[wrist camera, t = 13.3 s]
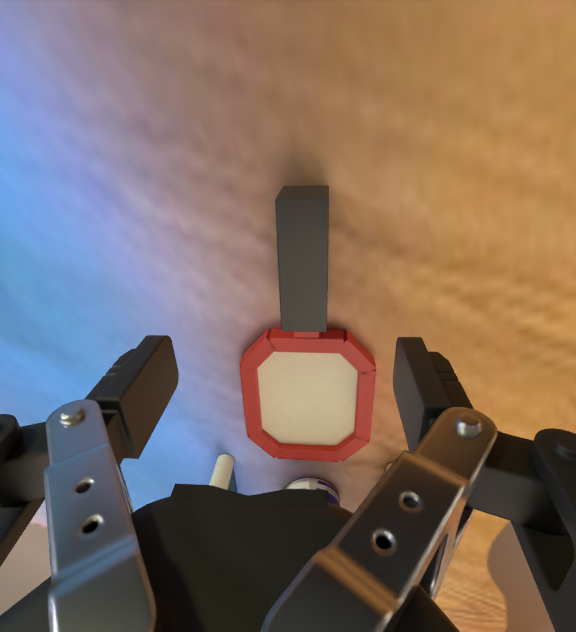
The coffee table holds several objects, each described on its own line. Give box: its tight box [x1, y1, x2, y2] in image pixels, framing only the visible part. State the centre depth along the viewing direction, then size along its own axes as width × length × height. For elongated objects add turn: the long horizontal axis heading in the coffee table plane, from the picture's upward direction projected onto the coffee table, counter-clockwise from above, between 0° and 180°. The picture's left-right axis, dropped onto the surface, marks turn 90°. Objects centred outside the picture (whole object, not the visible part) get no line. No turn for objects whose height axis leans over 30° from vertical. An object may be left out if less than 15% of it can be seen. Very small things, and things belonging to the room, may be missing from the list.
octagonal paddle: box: [240, 186, 376, 462], centre depth 26 cm, size 22×10×4 cm, turn 2°
